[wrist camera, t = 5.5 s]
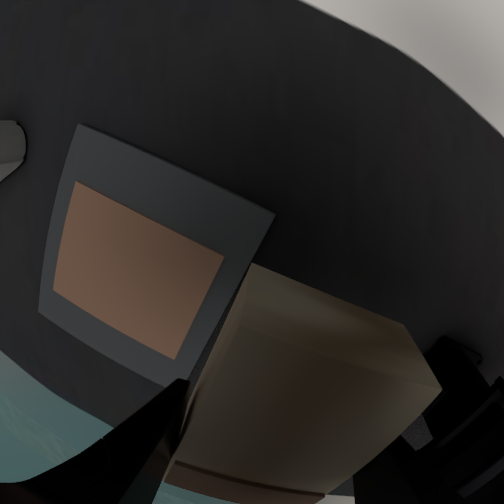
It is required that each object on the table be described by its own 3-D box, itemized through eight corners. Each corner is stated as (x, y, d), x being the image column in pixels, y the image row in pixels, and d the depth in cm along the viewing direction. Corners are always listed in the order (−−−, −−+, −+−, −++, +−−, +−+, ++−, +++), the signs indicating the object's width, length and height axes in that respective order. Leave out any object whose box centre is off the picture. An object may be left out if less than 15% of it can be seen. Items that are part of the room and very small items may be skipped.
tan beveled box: (403, 324, 8) (444, 393, 5) (298, 451, 11) (299, 514, 8) (251, 262, 8) (238, 329, 5) (180, 417, 10) (160, 482, 7)
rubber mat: (275, 213, 18) (275, 216, 17) (181, 388, 23) (178, 395, 22) (83, 123, 17) (76, 123, 16) (42, 308, 22) (37, 312, 21)
